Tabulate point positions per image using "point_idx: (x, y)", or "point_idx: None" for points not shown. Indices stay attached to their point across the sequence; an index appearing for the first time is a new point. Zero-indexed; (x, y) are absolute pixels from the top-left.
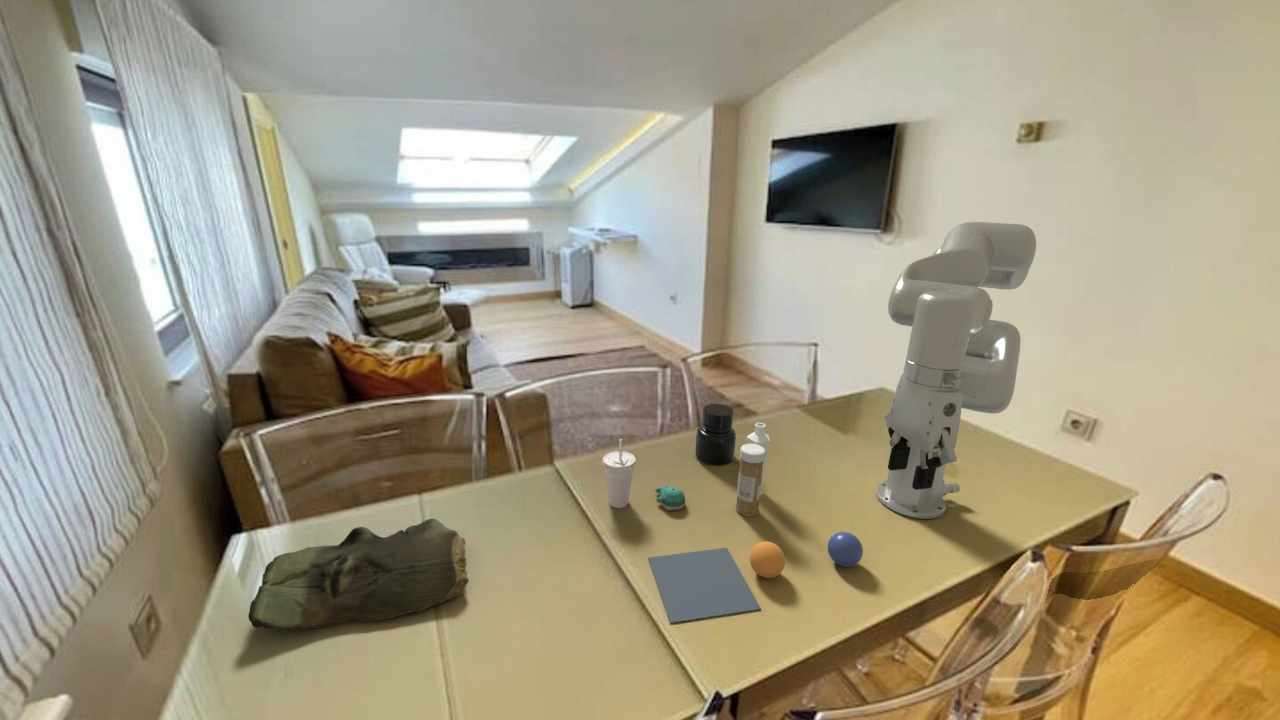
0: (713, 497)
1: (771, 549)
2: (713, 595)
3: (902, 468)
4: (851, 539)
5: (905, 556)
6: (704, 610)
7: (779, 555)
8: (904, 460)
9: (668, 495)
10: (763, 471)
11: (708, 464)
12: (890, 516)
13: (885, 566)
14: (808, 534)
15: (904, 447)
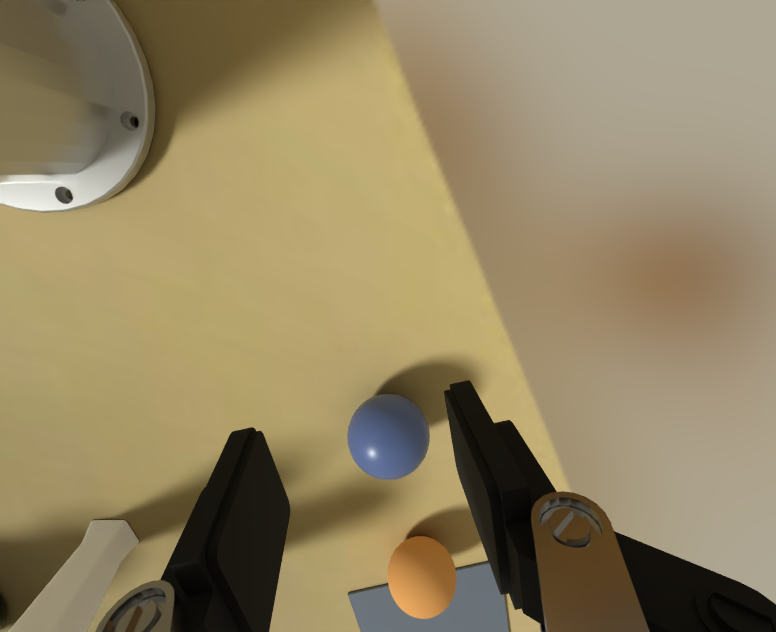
0: None
1: (438, 606)
2: (466, 613)
3: (266, 451)
4: (405, 456)
5: (357, 256)
6: (494, 622)
7: (444, 585)
8: (253, 493)
9: None
10: (81, 592)
11: (5, 617)
12: (158, 211)
13: (396, 324)
14: (286, 454)
15: (216, 609)
